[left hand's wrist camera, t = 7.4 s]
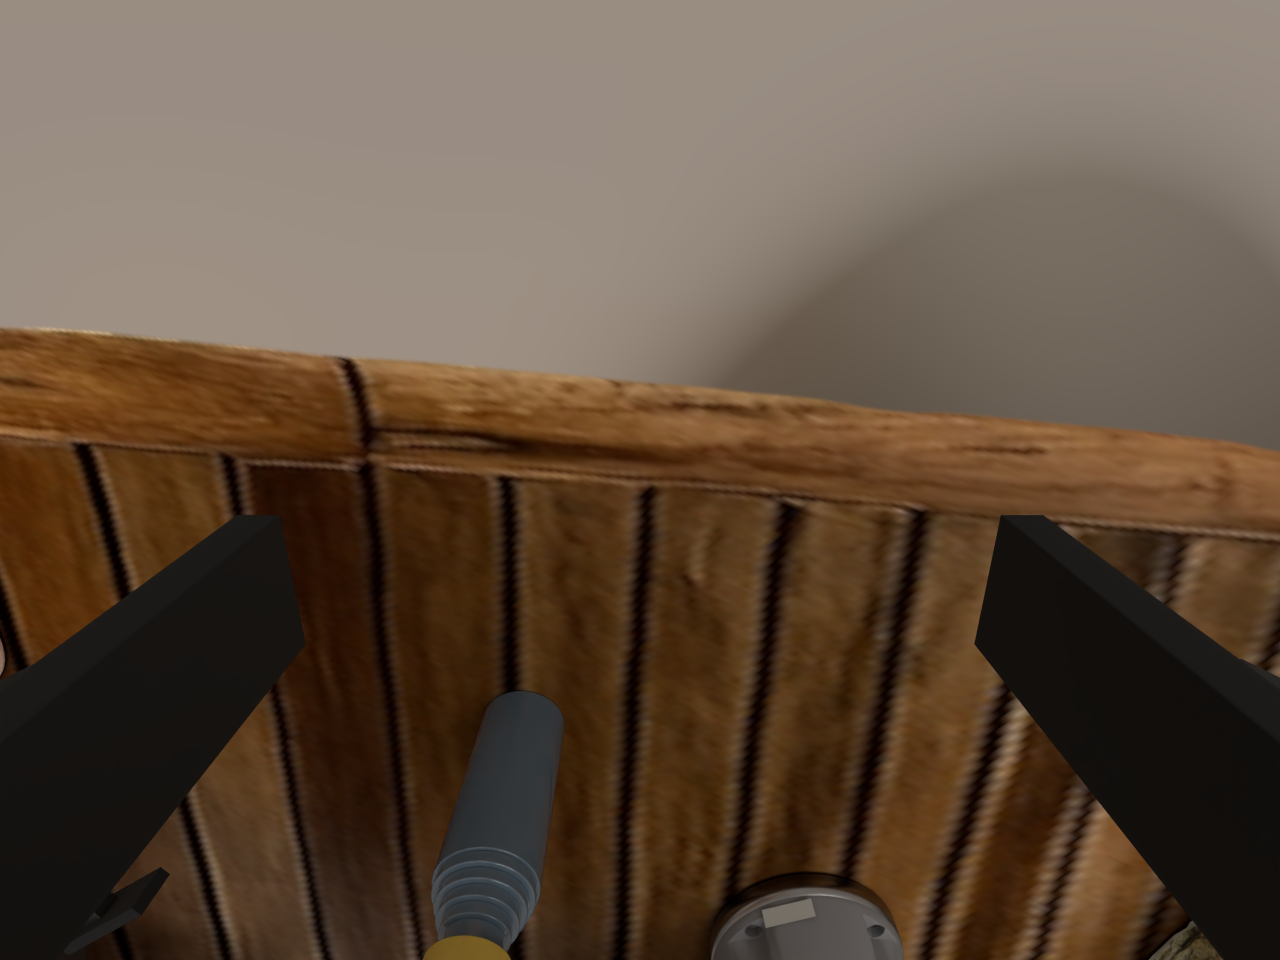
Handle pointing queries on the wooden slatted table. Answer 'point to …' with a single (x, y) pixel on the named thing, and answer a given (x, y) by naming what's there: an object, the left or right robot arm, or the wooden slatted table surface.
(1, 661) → the anatomical model
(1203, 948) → the fossil
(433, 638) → the wooden slatted table surface
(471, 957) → the cap
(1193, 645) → the left robot arm
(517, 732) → the bottle
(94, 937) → the right robot arm
